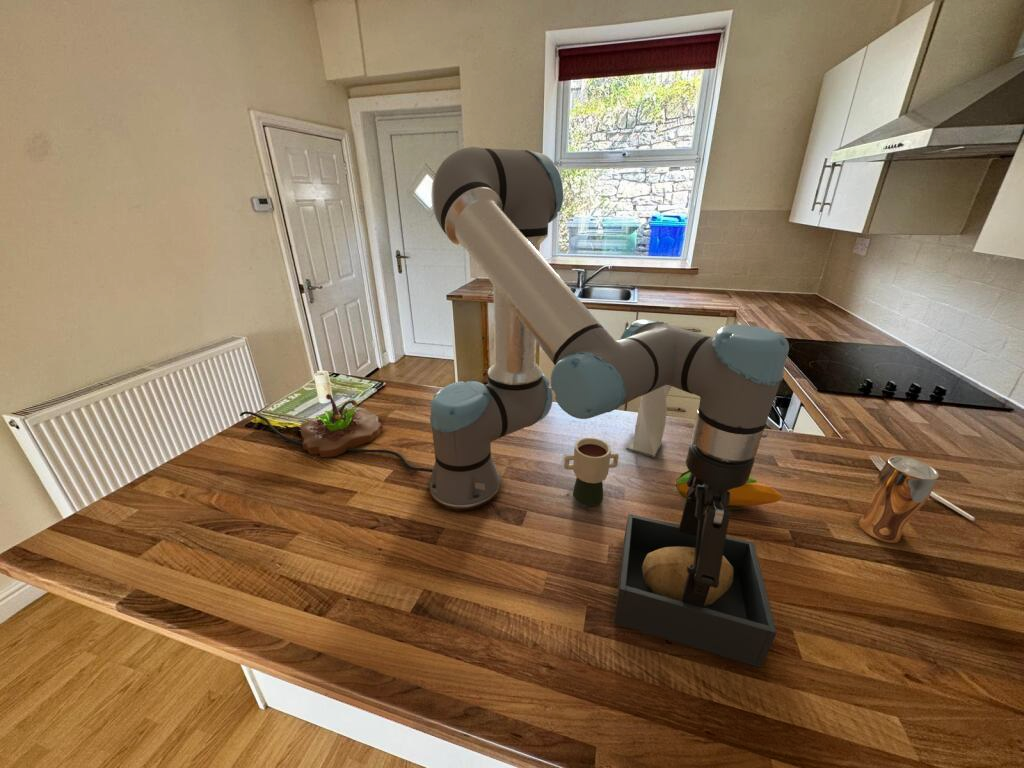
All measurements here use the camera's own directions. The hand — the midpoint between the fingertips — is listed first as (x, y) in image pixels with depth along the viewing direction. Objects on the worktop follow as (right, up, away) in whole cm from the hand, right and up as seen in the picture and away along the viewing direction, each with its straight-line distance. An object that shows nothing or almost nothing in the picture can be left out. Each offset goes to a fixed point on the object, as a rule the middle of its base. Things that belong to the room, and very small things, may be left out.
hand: (689, 564), depth 61 cm
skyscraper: (+7, +11, +40) cm, 42 cm away
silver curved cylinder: (+43, -1, +16) cm, 46 cm away
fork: (+61, +4, +26) cm, 67 cm away
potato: (0, -6, +3) cm, 7 cm away
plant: (-73, +14, +47) cm, 88 cm away
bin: (0, -7, +3) cm, 7 cm away
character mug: (-11, +3, +24) cm, 26 cm away
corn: (+17, +3, +23) cm, 29 cm away
